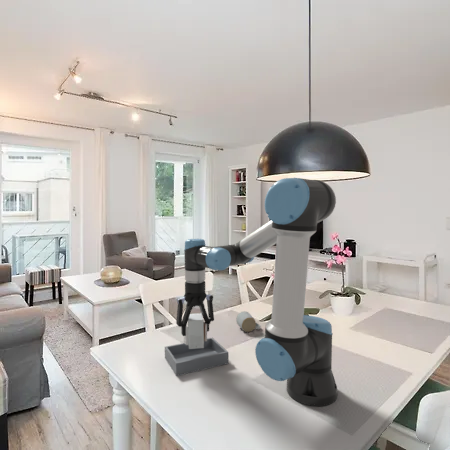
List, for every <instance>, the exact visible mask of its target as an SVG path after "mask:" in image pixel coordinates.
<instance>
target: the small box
mask: <svg viewBox="0 0 450 450" xmlns="http://www.w3.org/2000/svg"><path fill="white" fill-rule="evenodd" d="M204 322H205V321H204V318H203V315H202V313H201V312H200V313H190V316H189V319H188V322H187V327H188V345H189V349H197V348H204Z"/></svg>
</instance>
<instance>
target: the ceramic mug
mask: <svg viewBox="0 0 450 450" xmlns="http://www.w3.org/2000/svg"><path fill="white" fill-rule="evenodd" d="M236 324H237V325H238V327H240V329H241V330H243V332H245V333H251V332H252V331H255V330H260V329H261V328H262V326H261V325H260V324H259V323H258V322H256V319H255V318H254V317H253V316H252V314H251V313H249V311H245V310H244V311H240V312H239V313H238V314H237V316H236Z"/></svg>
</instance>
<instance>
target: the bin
mask: <svg viewBox="0 0 450 450" xmlns="http://www.w3.org/2000/svg"><path fill="white" fill-rule="evenodd" d="M164 359H165V360H166V362H167V363H168V365H169V367H170V368H171V370H172V372H173V374H175V376H181V375H186V374H190V373H194V372H199V371H203V370H207V369H211V368H216V367H220V366H224V365H228V364H229V362H230V361H229V351H228V350H227V349H225V347H223V346H222V345H221V343H219V342H218V341H217V340H216V339H215V338H213V337H207V341H206V342H205V341H204V348H197V349H189V345H186V344H185V343H184V342H181V343H177V344H172V345H167V346H164Z"/></svg>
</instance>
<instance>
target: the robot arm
mask: <svg viewBox="0 0 450 450" xmlns="http://www.w3.org/2000/svg"><path fill="white" fill-rule="evenodd" d="M336 198H337V197H336V194H335V192H334V189H333V188H332V187H331V186H330V185H329V184H328V183H326V181H325V182H324V181H322V180H318V179H307V178H300V177H285V178H281V179H279V180H277V181H275V182H274V184H272V185H271V186H270V187H269V189H268V190H267V192H266V196H265V199H264V210H265V214H267V217H268V219H269V221H267V222H266V223H264V224H263V225H261V226H260V227H258V228H257V229H256V230H254V231H253V232H251V233H250V234H247V236H245V237H244V238H242V239H241V240H239V241H238V242H236V243H234V244H226V245H218V246H210V245H209V246H207V245H206V242H205V241H206V240H205V239H202V238H188V239H186V240H185V241H184V250H183V252H184V253H183V254H184V280H185V282H184V295H183V297H177V298H176V302H177V311H176V321H175V324H176V325H177V326H178V327H179V328H181V329H180V330H181V335H182V336H183V343H185V344H186V345H188V319H189V316H190V314H192V313H191V312H192V310H193V308H194V307H198V308H199V310H200V313H202V316H203V320H204V341H205V342H206V341H207V338H208V332H209V331H210V324H211V322H214V321H215V315H214V306H213V300H214V295H213V294H210V293H208V294H207V293H206V269H210V270H213V271H225V270H226V269H227V268H228V267H232V266H238V265H245V264H248V263H251V262H252V261H253V260H254V258H255V257H256V256H257V255H260V254H261V253H262V252H265V251H266V250H268V249H269V248H272V247H273V246H274V245H276V246H275V262H274V263H275V264H274V276H273V277H274V278H273V292H272V305H271V318H270V320H268V321H267V322H266V323H265V330H264V337H262V338H261V339H259V341H257V343H256V345H255V352H254V353H255V358H256V360H257V361H256V362H257V363H258V365H259V367H260V369H261V370H262V372H264V374H265V375H266V376H267V377H269V378H270V379H271V380H274V381H277V382H284V381H286V392H287V394H288V395H289V396H290V397H291V398H292V399H293V400H294V401H295V402H298V403H301V404H303V405H308V406H313V407H322V406H328V405H331V404H333V403H335V402H336V400H337V398H338V386H337V383H336V379H335V375H334V374H333V373H334V372H333V370H332V365H333V363H332V362H333V361H332V360H333V359H332V358H333V355H332V354H333V353H332V352H333V326H332V323H331V322H330V321H329V320H327V319H325V318H322V317H318V316H314V315H308V314H307V315H306V314H305V303H306V290H307V289H306V288H307V279H308V266H309V253H310V242H311V241H310V240H311V237H312V236H313V235H314V234H315V233H316V232H317V230H318V229H317V228H318V224H319V223H320V222H322V221H324V220H327V218H329V217H330V216H331V215H332V213H333V212H334V211H335V208H336V203H337V199H336ZM205 300H206V304H207V306H206V307H207V310H206V307H205V304H204V301H205ZM185 302H186V305H185V310H184V311H183V309H184V304H185Z"/></svg>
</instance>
